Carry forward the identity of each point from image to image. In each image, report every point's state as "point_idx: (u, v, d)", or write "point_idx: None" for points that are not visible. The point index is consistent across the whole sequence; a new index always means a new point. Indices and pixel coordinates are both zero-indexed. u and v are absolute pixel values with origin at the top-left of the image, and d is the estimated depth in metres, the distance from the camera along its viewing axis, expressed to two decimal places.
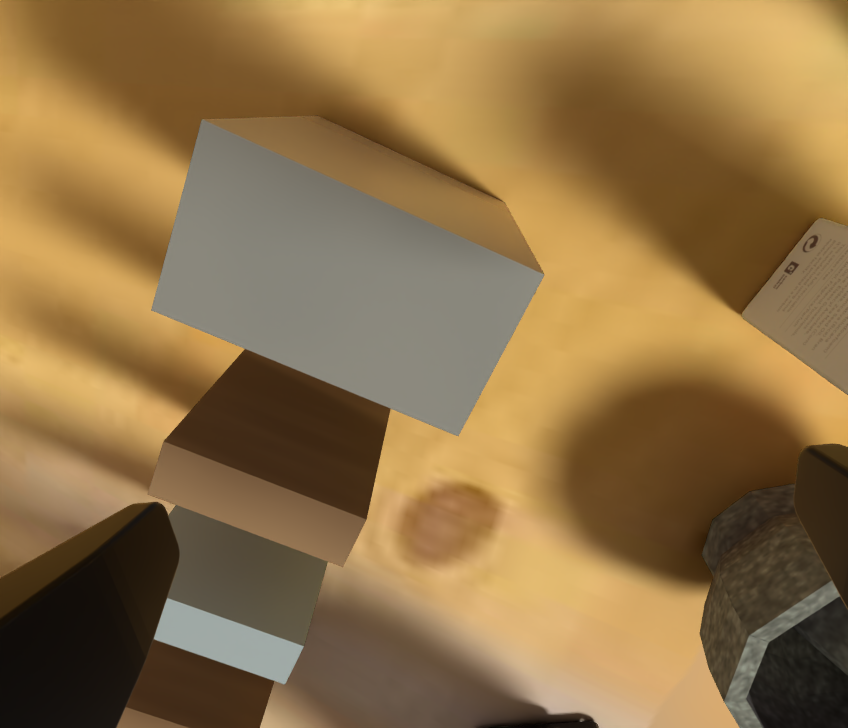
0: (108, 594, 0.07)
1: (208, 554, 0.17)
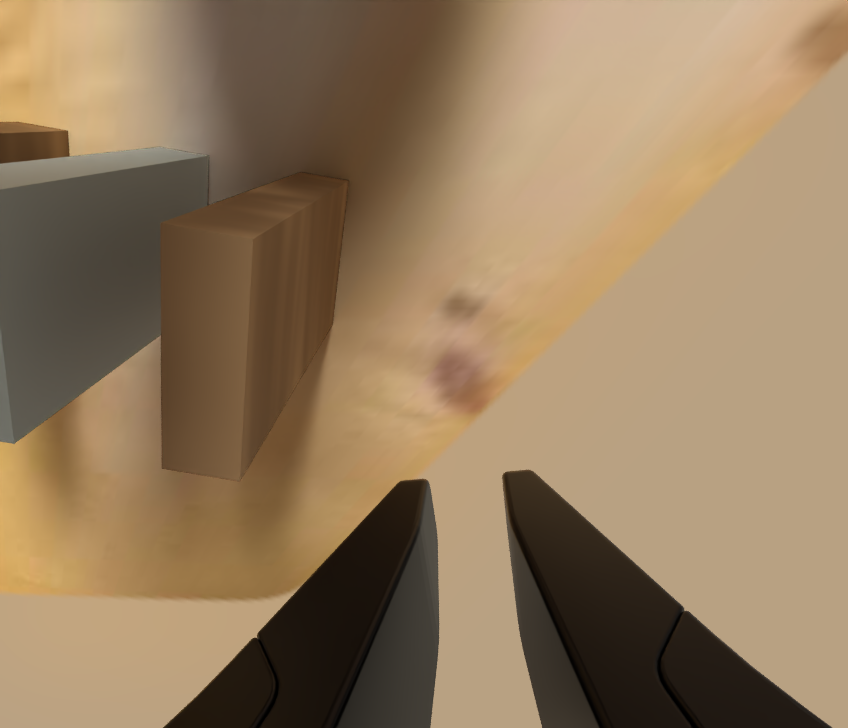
0: (424, 571, 0.07)
1: None
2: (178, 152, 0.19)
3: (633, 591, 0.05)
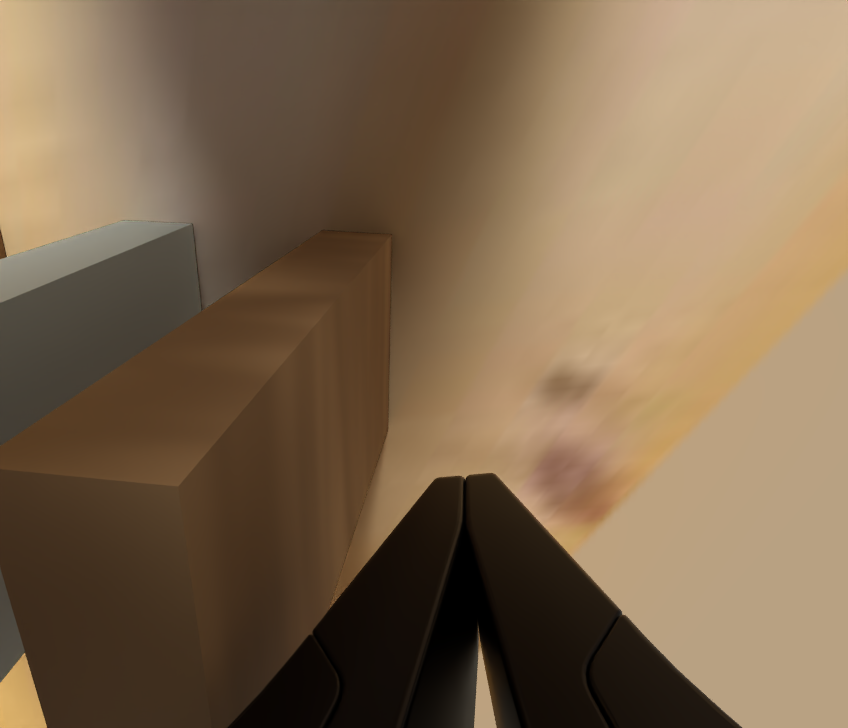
0: (467, 569, 0.07)
1: None
2: (148, 225, 0.13)
3: (574, 595, 0.05)
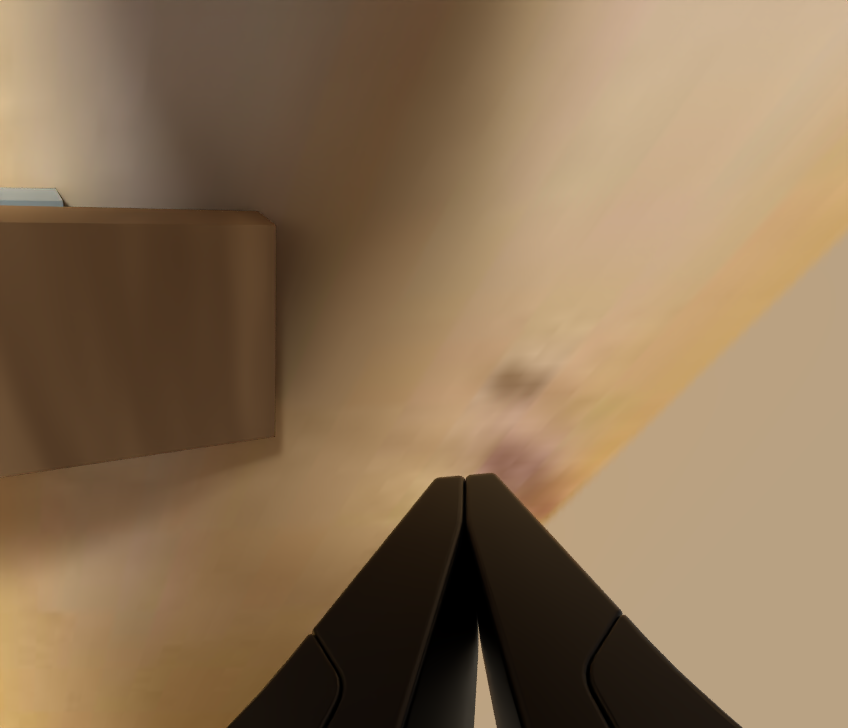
0: (467, 569, 0.07)
1: None
2: (31, 194, 0.13)
3: (574, 595, 0.05)
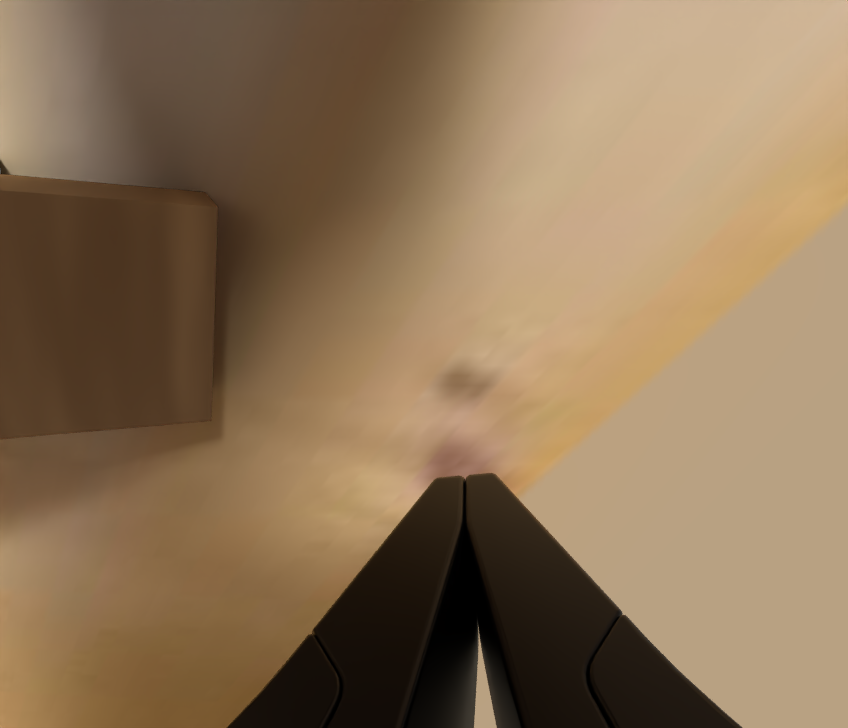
0: (467, 569, 0.07)
1: None
2: None
3: (574, 595, 0.05)
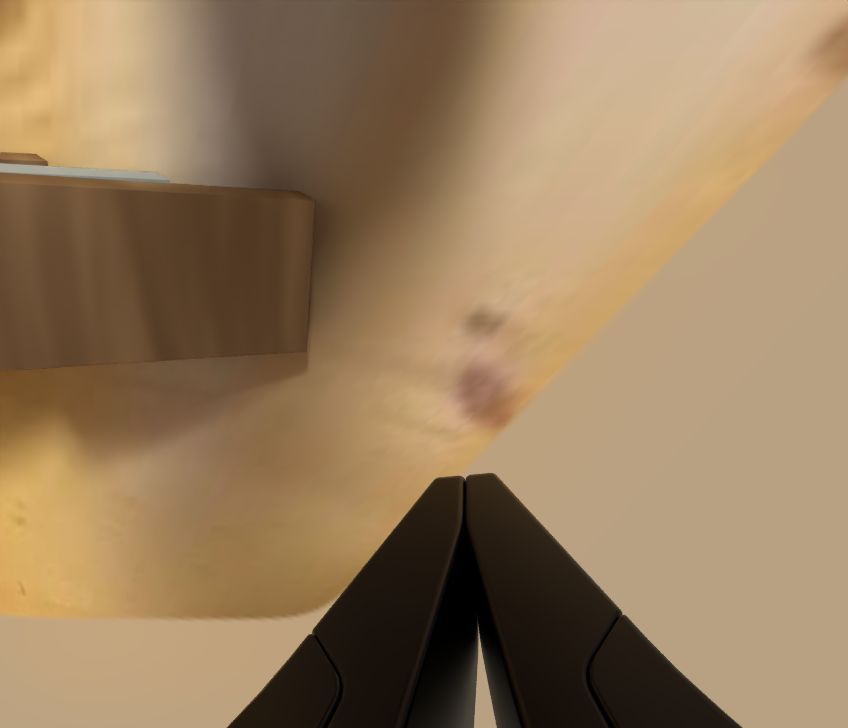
0: (467, 569, 0.07)
1: None
2: (146, 175, 0.19)
3: (574, 595, 0.05)
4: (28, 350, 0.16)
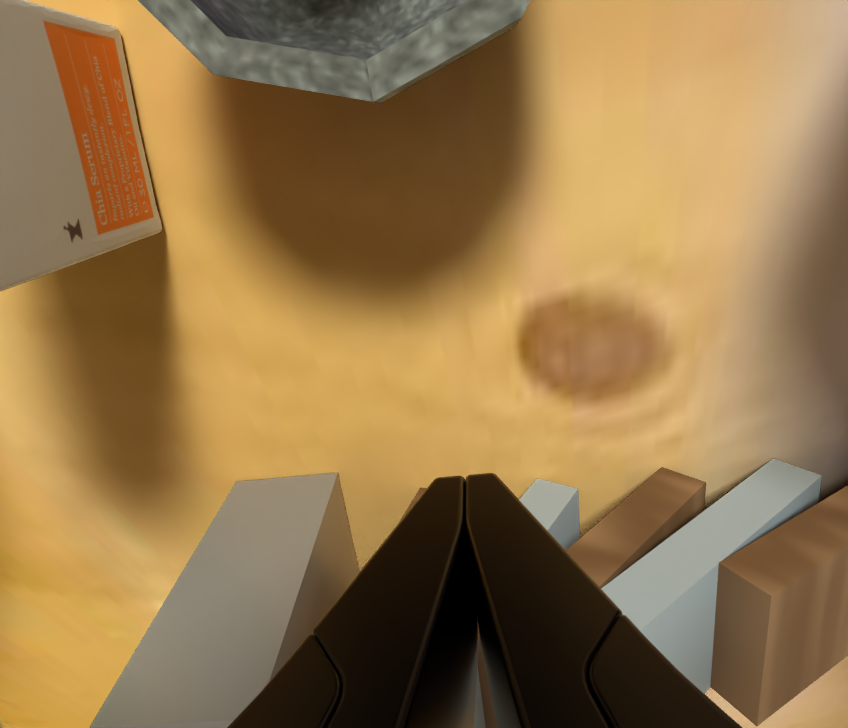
0: (467, 569, 0.07)
1: None
2: (790, 472, 0.21)
3: (574, 595, 0.05)
4: (805, 677, 0.18)
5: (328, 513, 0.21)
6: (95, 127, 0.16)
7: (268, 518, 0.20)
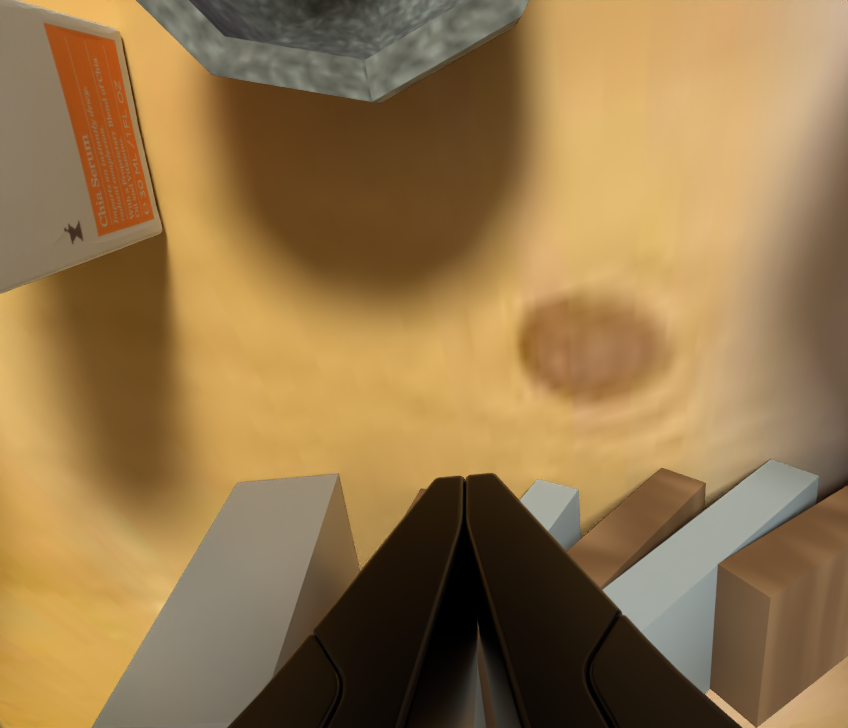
0: (467, 569, 0.07)
1: None
2: (788, 473, 0.21)
3: (574, 595, 0.05)
4: (804, 678, 0.18)
5: (329, 514, 0.21)
6: (96, 129, 0.16)
7: (269, 520, 0.20)
